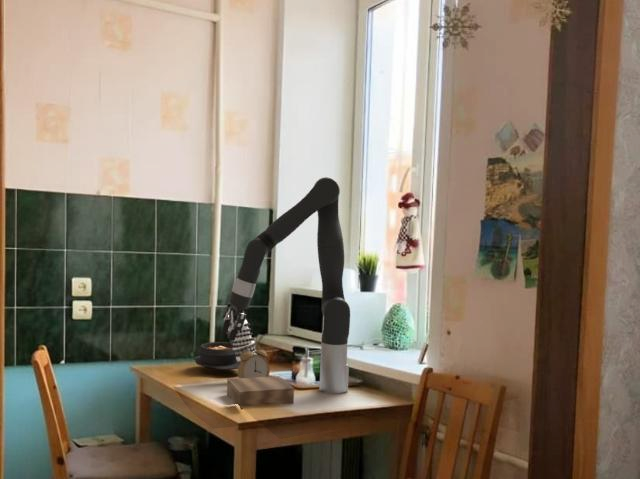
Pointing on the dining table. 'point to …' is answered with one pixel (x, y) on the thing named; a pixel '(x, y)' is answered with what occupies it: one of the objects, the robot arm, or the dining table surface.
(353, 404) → the dining table surface
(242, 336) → the decorative candle
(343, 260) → the robot arm
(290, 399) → the walnut block
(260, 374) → the alarm clock
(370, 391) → the dining table surface
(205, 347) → the casserole
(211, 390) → the dining table surface
